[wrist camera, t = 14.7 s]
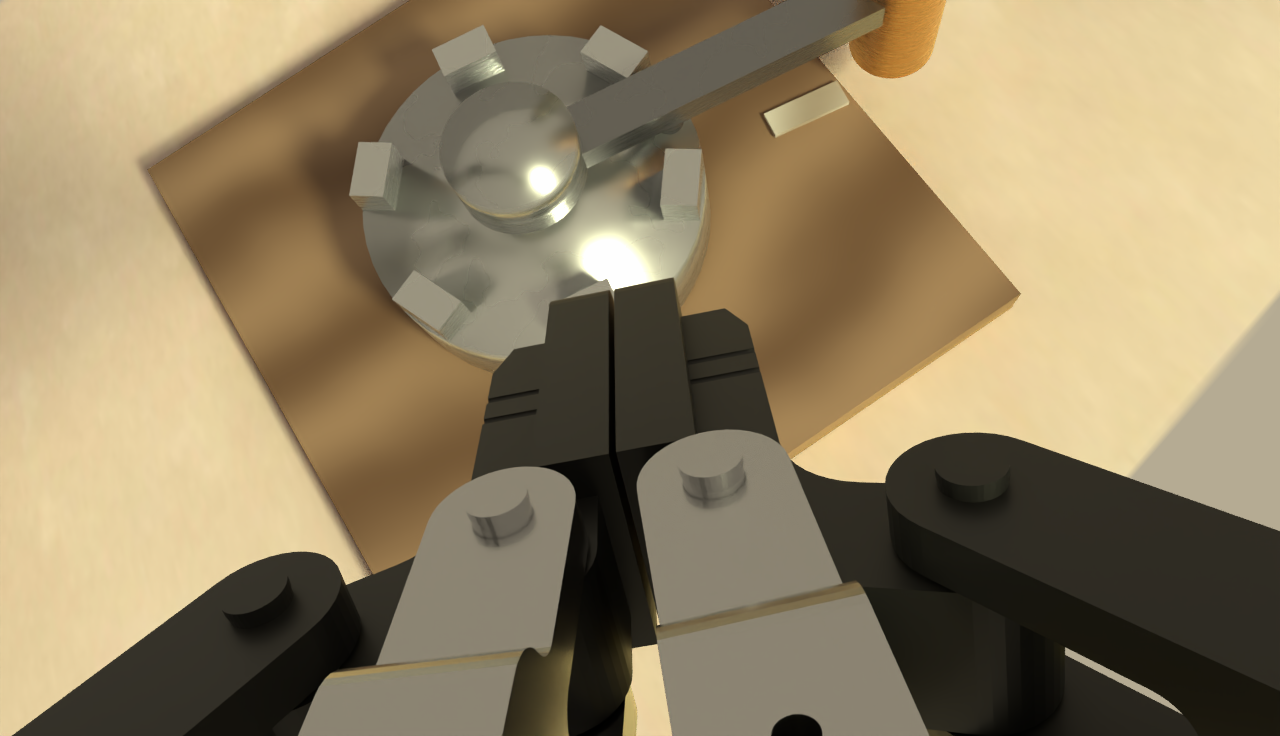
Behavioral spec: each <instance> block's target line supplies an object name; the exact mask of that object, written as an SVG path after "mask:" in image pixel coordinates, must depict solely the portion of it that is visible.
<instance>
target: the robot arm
mask: <svg viewBox="0 0 1280 736" xmlns="http://www.w3.org/2000/svg"><path fill="white" fill-rule="evenodd" d="M488 402H489V403H487V405H486V410H485V415H484V424H482V429H481V434H480V439H479V444H478V449H477V454H476V459H475V464H474V469H473V474H472V478H471V481H470V482H468V483H466V484H464V485H463V486H461V487H459V488H458V489H456V490H455V491H453V492H452V493H451V494H450V495H448V496H447V497H446V498H445V499H444V500H443V501H442V502H441V503H440V504H439V505H438V506H437V507H436V509H435V510H434V512H433V513H432V515H431V517H430V519H429V521H428V523H427V526H426V529H425V531H424V534H423V537H422V540H421V543H420V545H419V548H418V551H417V554H416V556H414V557H412V558H411V559H409V560H406V561H404V562H402V563H400V564H398V565H395V566H393V567H390V568H388V569H385V570H383V571H380V572H378V573H375V574H373V575H370V576H368V577H365V578H363V579H360V580H358V581H355V582H353V583H350V584H348V585H346V584H345V582H344V580H343V577H342V575H341V573H340V571H339V568H338V566H337V565H336V564H335V563H334V562H333V561H332V560H331V559H330V558H328V557H326V556H324V555H321V554H318V553H312V552H291V553H284V554H279V555H275V556H271V557H268V558H265V559H262V560H259V561H256V562H254V563H252V564H249V565H247V566H245V567H243V568H241V569H239V570H237V571H236V572H234V573H232V574H230V575H229V576H227V577H226V578H224V579H223V580H221V581H220V582H218V583H217V584H216V585H214V586H213V587H211V588H210V589H209V590H207V591H206V592H205V593H203V594H202V595H201V596H199V597H198V598H197V599H195V600H194V601H193V602H191V603H190V604H189V605H187V606H186V607H185V608H183V609H182V610H181V611H179V612H178V613H176V614H175V615H174V616H172V617H171V618H170V619H168V620H167V621H166V622H164V623H163V624H162V625H160V626H159V627H158V628H156V629H155V630H154V631H152V632H151V633H150V634H148V635H147V636H146V637H144V638H143V639H142V640H140V641H139V642H137V643H136V644H135V645H133V646H132V647H131V648H129V649H128V650H127V651H125V652H124V653H123V654H121V655H120V656H119V657H117V658H116V659H115V660H113V661H112V662H111V663H109V664H108V665H107V666H105V667H104V668H102V669H101V670H100V671H98V672H97V673H96V674H94V675H93V676H92V677H90V678H89V679H88V680H86V681H85V682H84V683H82V684H81V685H80V686H78V687H77V688H76V689H74V690H73V691H72V692H70V693H69V694H67V695H66V696H65V697H63V698H62V699H61V700H59V701H58V702H57V703H55V704H54V705H53V706H51V707H50V708H49V709H47V710H46V711H45V712H43V713H42V714H41V715H39V716H38V717H37V718H35V719H34V720H32V721H31V722H30V723H28V724H27V725H26V726H24V727H23V728H22V729H20V730H19V731H18V732H16V733H15V734H14V735H12V736H636V727H637V707H636V703H635V700H634V696H633V693H632V689H631V686H630V685H631V682H632V648H636V647H642V646H648V645H654V644H658V650H659V656H660V662H661V669H662V675H663V681H664V687H665V693H666V699H667V705H668V711H669V717H670V723H671V729H672V736H1280V531H1278V530H1275V529H1272V528H1269V527H1266V526H1263V525H1261V524H1258V523H1255V522H1252V521H1249V520H1246V519H1244V518H1241V517H1238V516H1235V515H1232V514H1229V513H1226V512H1224V511H1221V510H1218V509H1215V508H1212V507H1209V506H1206V505H1204V504H1201V503H1198V502H1195V501H1193V500H1190V499H1187V498H1184V497H1181V496H1178V495H1175V494H1173V493H1170V492H1167V491H1164V490H1161V489H1158V488H1156V487H1153V486H1150V485H1147V484H1144V483H1141V482H1139V481H1136V480H1133V479H1130V478H1127V477H1124V476H1122V475H1119V474H1116V473H1113V472H1110V471H1107V470H1105V469H1102V468H1099V467H1096V466H1093V465H1090V464H1088V463H1085V462H1082V461H1079V460H1076V459H1073V458H1071V457H1068V456H1065V455H1062V454H1059V453H1056V452H1054V451H1051V450H1048V449H1045V448H1042V447H1039V446H1037V445H1034V444H1031V443H1028V442H1025V441H1022V440H1019V439H1016V438H1012V437H1009V436H1003V435H998V434H990V433H960V434H951V435H946V436H941V437H937V438H934V439H931V440H927V441H924V442H922V443H920V444H918V445H916V446H914V447H912V448H910V449H909V450H907V451H906V452H904V453H903V454H902V455H901V456H899V457H898V458H897V459H896V460H895V461H894V463H893V464H892V465H891V467H890V468H889V471H888V473H887V475H886V481H885V483H863V482H847V481H840V480H834V479H829V478H825V477H822V476H818V475H815V474H813V473H811V472H808V471H806V470H804V469H803V468H801V467H799V466H798V465H796V464H795V463H794V462H793V461H791V460H790V458H789V456H788V454H787V452H786V451H785V449H784V448H783V447H782V446H781V445H780V442H779V438H778V434H777V431H776V427H775V423H774V420H773V416H772V412H771V408H770V405H769V401H768V397H767V394H766V390H765V386H764V382H763V379H762V375H761V372H760V368H759V364H758V360H757V356H756V353H755V350H754V345H753V342H752V338H751V334H750V330H749V327H748V324H746V323H745V322H744V321H742V320H741V319H739V318H738V317H737V316H735V315H734V314H732V313H731V312H730V311H728V310H727V309H725V308H723V309H718V310H713V311H707V312H702V313H697V314H692V315H687V316H682V313H681V308H680V303H679V298H678V293H677V289H676V284H675V280H674V277H672V278H667V279H662V280H657V281H652V282H646V283H641V284H636V285H631V286H626V287H621V288H616V289H614V299H613V296H612V293H611V291H610V290H607V291H602V292H596V293H591V294H586V295H581V296H576V297H571V298H566V299H561V300H556V301H551V302H550V304H549V311H548V319H547V328H546V336H545V343H543V344H538V345H533V346H527V347H522V348H517V349H514V350H513V351H512V352H511V353H510V355H509V356H508V357H507V358H506V359H505V360H504V361H503V363H502V364H501V365H500V366H499V367H498V368H497V370H496V371H495V372H494V373H493V375H492V380H491V385H490V390H489V395H488ZM656 610H657V614H658V618H659V623H660V625H657V616H656ZM1065 647H1066V648H1068V649H1070V650H1072V651H1074V652H1076V653H1078V654H1080V655H1082V656H1084V657H1086V658H1088V659H1090V660H1092V661H1094V662H1096V663H1098V664H1100V665H1102V666H1104V667H1106V668H1108V669H1110V670H1112V671H1114V672H1116V673H1118V674H1120V675H1122V676H1124V677H1126V678H1128V679H1130V680H1132V681H1134V682H1136V683H1138V684H1140V685H1142V686H1144V687H1146V688H1148V689H1150V690H1152V691H1153V692H1155V693H1157V694H1159V695H1160V696H1162V697H1163V698H1165V699H1166V700H1168V701H1169V702H1170V703H1171V704H1172V705H1174V706H1175V707H1176V708H1177V709H1178V710H1179V711H1180V712H1181V713H1182V714H1183V715H1182V714H1180V713H1178V712H1176V711H1174V710H1172V709H1171V708H1169V707H1166V706H1164V705H1162V704H1161V703H1159V702H1157V701H1155V700H1153V699H1151V698H1149V697H1147V696H1145V695H1143V694H1141V693H1139V692H1137V691H1135V690H1133V689H1131V688H1129V687H1127V686H1125V685H1123V684H1121V683H1119V682H1117V681H1115V680H1113V679H1111V678H1109V677H1107V676H1105V675H1103V674H1101V673H1099V672H1097V671H1095V670H1093V669H1092V668H1090V667H1088V666H1086V665H1084V664H1082V663H1080V662H1078V661H1076V660H1074V659H1072V658H1070V657H1068V656H1066V655H1065Z"/></svg>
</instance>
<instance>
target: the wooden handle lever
mask: <svg viewBox="0 0 1280 736" xmlns="http://www.w3.org/2000/svg"><path fill="white" fill-rule="evenodd" d="M945 3H946V0H787V1H784V2H782V3H780V4H778V5H776V6H774V7H772V8H770V9H768V10H766V11H764V12H762V13H760V14H758V15H756V16H753V17H751V18H749V19H747V20H745V21H743V22H741V23H739V24H737V25H735V26H733V27H731V28H729V29H727V30H724V31H722V32H720V33H718V34H716V35H714V36H712V37H710V38H708V39H706V40H704V41H702V42H700V43H698V44H695V45H693V46H691V47H689V48H687V49H685V50H683V51H681V52H679V53H677V54H675V55H673V56H671V57H669V58H666V59H664V60H662V61H660V62H658V63H656V64H654V65H652V66H651V63H650V58H649V53H648V51H647V50H645V49H643V48H641V47H640V46H638V45H636V44H634V43H632V42H630V41H629V40H627V39H625V38H623V37H621V36H620V35H618V34H616V33H614V32H612V31H610V30H609V29H607V28H605V27H603V26H601V25H600V27H599V28H598V29H597V31H596V32H595V33H594V34H593V36H592V37H591V38H590V40H587V39H582V38H577V37H572V36H557V35H542V36H527V37H521V38H515V39H509V40H505V41H502V42H498V43H495V44H493V43H492V41H491V39H490V37H489V35H488V33H487V31H486V29H485V27H484V25H482V26H480V27H477V28H475V29H473V30H471V31H469V32H467V33H465V34H463V35H461V36H459V37H457V38H455V39H453V40H450V41H448V42H446V43H444V44H442V45H440V46H438V47H436V48H434V49H432V51H433V53H434V56H435V58H436V60H437V62H438V64H439V66H440V69H441V70H439V71H438V72H436V73H435V74H434V75H432V76H431V77H429V78H428V79H427V80H426V81H425V82H424V83H423V84H422V85H420V86H419V87H418V88H417V89H416V90H415V91H414V92H413V93H412V94H411V95H410V96H409V97H408V98H407V100H406V101H405V102H404V103H403V104H402V105H401V106H400V107H399V109H398V110H397V112H396V113H395V115H394V116H393V117H392V119H391V120H390V122H389V123H388V125H387V126H386V128H385V130H384V132H383V134H382V136H381V137H380V139H379V141H378V142H358V148H357V154H356V159H355V165H354V171H353V176H352V182H351V188H350V193H349V196H350V197H351V198H352V199H353V200H354V201H355V202H356V204H357V205H358V206H359V207H360V208H361V209H362V210H363V227H364V233H365V239H366V244H367V248H368V251H369V254H370V257H371V260H372V263H373V266H374V268H375V270H376V272H377V274H378V276H379V278H380V280H381V282H382V284H383V285H384V286H385V288H386V289H387V291H388V292H389V294H390V295H391V296H392V300H393V301H394V302H395V303H396V304H398V305H399V306H400V307H401V308H402V309H403V310H404V311H405V312H406V313H407V314H408V315H409V316H410V317H411V318H412V319H413V320H414V321H415V322H416V323H417V324H418V325H419V326H420V327H422V328H423V329H424V330H425V331H426V332H427V333H428V334H429V335H430V336H431V337H432V338H433V339H434V340H436V341H437V342H438V343H439V344H440V345H442V346H443V347H444V348H445V349H447V350H448V351H449V352H451V353H452V354H453V355H455V356H457V357H458V358H460V359H462V360H464V361H465V362H467V363H469V364H471V365H473V366H476V367H478V368H480V369H483V370H485V371H488V372H491V373H494V372H495V371H496V370H497V368H498V367H499V366H500V365H501V364H502V363H503V361H504V360H505V359H506V358H507V357H508V356H509V355H510V353H511V352H512V351H513V350H514V349H517V348H522V347H527V346H533V345H538V344H543V343H545V336H546V328H547V319H548V311H549V304H550V302H551V301H556V300H561V299H566V298H571V297H576V296H581V295H586V294H591V293H596V292H602V291H607V290H610V291H611V293H612V296H613V299H614V289H616V288H621V287H626V286H631V285H636V284H641V283H646V282H652V281H657V280H662V279H667V278H672V277H674V280H675V284H676V289H677V293H678V298H679V303H680V308H681V307H682V305H683V304H684V302H685V300H686V299H687V297H688V295H689V294H690V292H691V291H692V289H693V287H694V285H695V283H696V280H697V278H698V276H699V274H700V271H701V269H702V266H703V262H704V259H705V255H706V252H707V248H708V241H709V234H710V203H709V195H708V188H707V181H706V174H705V167H704V160H703V153H702V149H701V145H700V142H699V138H698V135H697V131H696V129H695V127H694V125H693V123H692V120H691V118H693V117H695V116H697V115H699V114H701V113H703V112H705V111H707V110H709V109H711V108H713V107H715V106H718V105H720V104H722V103H724V102H726V101H728V100H730V99H732V98H734V97H736V96H738V95H740V94H742V93H744V92H746V91H749V90H751V89H753V88H755V87H757V86H759V85H761V84H763V83H765V82H767V81H769V80H771V79H773V78H775V77H778V76H780V75H782V74H784V73H786V72H788V71H790V70H792V69H794V68H796V67H798V66H800V65H802V64H804V63H806V62H809V61H811V60H813V59H815V58H817V57H819V56H821V55H823V54H825V53H827V52H829V51H831V50H833V49H835V48H837V47H840V46H842V45H844V44H846V43H848V42H849V47H850V51H851V54H852V56H853V58H854V60H855V61H856V63H857V64H858V65H859V66H860V67H861V68H862V69H864V70H865V71H867V72H868V73H870V74H872V75H875V76H878V77H882V78H900V77H904V76H907V75H910V74H912V73H914V72H916V71H917V70H919V69H920V68H921V67H923V66H924V65H925V64H926V62H927V61H928V60H929V58H930V56H931V54H932V52H933V48H934V44H935V41H936V37H937V33H938V29H939V26H940V22H941V18H942V14H943V10H944V7H945Z"/></svg>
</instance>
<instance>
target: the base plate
mask: <svg viewBox="0 0 1280 736" xmlns="http://www.w3.org/2000/svg"><path fill="white" fill-rule="evenodd" d="M772 7H774V6H773V5H772V3H771V2H770V1H769V0H409V1H408V2H406V3H405V4H403V5H402V6H400V7H399V8H397V9H395V10H394V11H392V12H391V13H389V14H388V15H386V16H385V17H383V18H382V19H380V20H378V21H377V22H375V23H374V24H372V25H371V26H369V27H368V28H366V29H365V30H363V31H361V32H360V33H358V34H357V35H355V36H354V37H352V38H351V39H349V40H348V41H346V42H344V43H343V44H341V45H340V46H338V47H337V48H335V49H334V50H332V51H330V52H329V53H327V54H326V55H324V56H323V57H321V58H320V59H318V60H317V61H315V62H313V63H312V64H310V65H309V66H307V67H306V68H304V69H303V70H301V71H300V72H298V73H296V74H295V75H293V76H292V77H290V78H289V79H287V80H286V81H284V82H282V83H281V84H279V85H278V86H276V87H275V88H273V89H272V90H270V91H269V92H267V93H265V94H264V95H262V96H261V97H259V98H258V99H256V100H255V101H253V102H252V103H250V104H248V105H247V106H245V107H244V108H242V109H241V110H239V111H238V112H236V113H235V114H233V115H231V116H230V117H228V118H227V119H225V120H224V121H222V122H221V123H219V124H217V125H216V126H214V127H213V128H211V129H210V130H208V131H207V132H205V133H204V134H202V135H200V136H199V137H197V138H196V139H194V140H193V141H191V142H190V143H188V144H187V145H185V146H183V147H182V148H180V149H179V150H177V151H176V152H174V153H173V154H171V155H170V156H168V157H166V158H165V159H163V160H162V161H160V162H159V163H157V164H156V165H154V166H152V167H151V168H149V169H148V172H149V174H150V175H151V177H152V179H153V181H154V182H155V184H156V186H157V188H158V190H159V191H160V193H161V195H162V197H163V199H164V200H165V202H166V204H167V206H168V208H169V209H170V211H171V213H172V215H173V217H174V218H175V220H176V222H177V224H178V226H179V227H180V229H181V231H182V233H183V234H184V236H185V238H186V240H187V242H188V243H189V245H190V247H191V249H192V251H193V252H194V254H195V256H196V258H197V260H198V261H199V263H200V265H201V267H202V269H203V270H204V272H205V274H206V276H207V277H208V279H209V281H210V283H211V285H212V286H213V288H214V290H215V292H216V294H217V295H218V297H219V299H220V301H221V303H222V304H223V306H224V308H225V310H226V312H227V313H228V315H229V317H230V319H231V321H232V322H233V324H234V326H235V328H236V329H237V331H238V333H239V335H240V337H241V338H242V340H243V342H244V344H245V346H246V347H247V349H248V351H249V353H250V355H251V356H252V358H253V360H254V362H255V364H256V365H257V367H258V369H259V371H260V372H261V374H262V376H263V378H264V380H265V381H266V383H267V385H268V387H269V389H270V390H271V392H272V394H273V396H274V398H275V399H276V401H277V403H278V405H279V407H280V408H281V410H282V412H283V414H284V416H285V417H286V419H287V421H288V423H289V424H290V426H291V428H292V430H293V432H294V433H295V435H296V437H297V439H298V441H299V442H300V444H301V446H302V448H303V450H304V451H305V453H306V455H307V457H308V459H309V460H310V462H311V464H312V466H313V468H314V469H315V471H316V473H317V475H318V476H319V478H320V480H321V482H322V484H323V485H324V487H325V489H326V491H327V493H328V494H329V496H330V498H331V500H332V502H333V503H334V505H335V507H336V509H337V511H338V512H339V514H340V516H341V518H342V519H343V521H344V523H345V525H346V527H347V528H348V530H349V532H350V534H351V536H352V537H353V539H354V541H355V543H356V545H357V546H358V548H359V550H360V552H361V554H362V555H363V557H364V559H365V561H366V563H367V564H368V566H369V568H370V570H371V571H372V573H373V574H375V573H378V572H380V571H383V570H385V569H388V568H390V567H393V566H395V565H398V564H400V563H402V562H404V561H406V560H409V559H411V558H412V557H414V556H416V554H417V551H418V548H419V545H420V543H421V540H422V537H423V534H424V531H425V529H426V526H427V523H428V521H429V519H430V517H431V515H432V513H433V512H434V510H435V509H436V507H437V506H438V505H439V504H440V503H441V502H442V501H443V500H444V499H445V498H446V497H447V496H448V495H450V494H451V493H452V492H453V491H455V490H456V489H458V488H459V487H461V486H463V485H464V484H466V483H468V482H470V481H471V478H472V474H473V469H474V464H475V459H476V454H477V449H478V444H479V439H480V434H481V429H482V424H484V415H485V410H486V405H487V403H489V402H488V395H489V390H490V385H491V380H492V375H493V373H491V372H488V371H485V370H483V369H480V368H478V367H476V366H473V365H471V364H469V363H467V362H465V361H464V360H462V359H460V358H458V357H457V356H455V355H453V354H452V353H451V352H449V351H448V350H447V349H445V348H444V347H443V346H442V345H440V344H439V343H438V342H437V341H436V340H434V339H433V338H432V337H431V336H430V335H429V334H428V333H427V332H426V331H425V330H424V329H423V328H422V327H420V326H419V325H418V324H417V323H416V322H415V321H414V320H413V319H412V318H411V317H410V316H409V315H408V314H407V313H406V312H405V311H404V310H403V309H402V308H401V307H400V306H399V305H398V304H396V303H395V302H394V301H393V300H392V296H391V295H390V294H389V292H388V291H387V289H386V288H385V286H384V285H383V284H382V282H381V280H380V278H379V276H378V274H377V272H376V270H375V268H374V266H373V263H372V260H371V257H370V254H369V251H368V248H367V244H366V239H365V233H364V227H363V210H362V209H361V208H360V207H359V206H358V205H357V204H356V202H355V201H354V200H353V199H352V198H351V197H350V196H349V193H350V188H351V182H352V176H353V171H354V165H355V159H356V154H357V148H358V142H378V141H379V139H380V137H381V136H382V134H383V132H384V130H385V128H386V126H387V125H388V123H389V122H390V120H391V119H392V117H393V116H394V115H395V113H396V112H397V110H398V109H399V107H400V106H401V105H402V104H403V103H404V102H405V101H406V100H407V98H408V97H409V96H410V95H411V94H412V93H413V92H414V91H415V90H416V89H417V88H418V87H419V86H420V85H422V84H423V83H424V82H425V81H426V80H427V79H428V78H429V77H431V76H432V75H434V74H435V73H436V72H438V71H439V70H441V69H440V66H439V64H438V62H437V60H436V58H435V56H434V53H433V51H432V49H434V48H436V47H438V46H440V45H442V44H444V43H446V42H448V41H450V40H453V39H455V38H457V37H459V36H461V35H463V34H465V33H467V32H469V31H471V30H473V29H475V28H477V27H480V26H482V25H484V27H485V29H486V31H487V33H488V35H489V37H490V39H491V41H492V43H493V44H495V43H498V42H502V41H505V40H509V39H515V38H521V37H527V36H542V35H557V36H572V37H577V38H582V39H587V40H590V38H591V37H592V36H593V34H594V33H595V32H596V31H597V29H598V28H599V27H600V25H601V26H603V27H605V28H607V29H609V30H610V31H612V32H614V33H616V34H618V35H620V36H621V37H623V38H625V39H627V40H629V41H630V42H632V43H634V44H636V45H638V46H640V47H641V48H643V49H645V50H647V51H648V53H649V58H650V63H651V66H652V65H654V64H656V63H658V62H660V61H662V60H664V59H666V58H669V57H671V56H673V55H675V54H677V53H679V52H681V51H683V50H685V49H687V48H689V47H691V46H693V45H695V44H698V43H700V42H702V41H704V40H706V39H708V38H710V37H712V36H714V35H716V34H718V33H720V32H722V31H724V30H727V29H729V28H731V27H733V26H735V25H737V24H739V23H741V22H743V21H745V20H747V19H749V18H751V17H753V16H756V15H758V14H760V13H762V12H764V11H766V10H768V9H770V8H772ZM691 120H692V123H693V125H694V127H695V129H696V131H697V135H698V138H699V142H700V145H701V149H702V153H703V160H704V167H705V174H706V181H707V188H708V195H709V203H710V234H709V241H708V248H707V252H706V255H705V259H704V262H703V266H702V269H701V271H700V274H699V276H698V278H697V280H696V283H695V285H694V287H693V289H692V291H691V292H690V294H689V295H688V297H687V299H686V300H685V302H684V304H683V305H682V307H681V313H682V316H687V315H692V314H697V313H702V312H707V311H713V310H718V309H723V308H725V309H727V310H728V311H730V312H731V313H732V314H734V315H735V316H737V317H738V318H739V319H741V320H742V321H744V322H745V323H746V324H748V327H749V330H750V334H751V338H752V342H753V345H754V350H755V353H756V356H757V360H758V364H759V368H760V372H761V375H762V379H763V382H764V386H765V390H766V394H767V397H768V401H769V405H770V408H771V412H772V416H773V420H774V423H775V427H776V431H777V434H778V438H779V442H780V445H781V446H782V447H783V448H784V449H785V451H786V452H787V454H788V456H789V458H790V459H792V458H793V457H795V456H796V455H797V454H799V453H800V452H802V451H803V450H805V449H806V448H808V447H809V446H811V445H812V444H813V443H815V442H816V441H818V440H819V439H821V438H822V437H824V436H825V435H827V434H828V433H829V432H831V431H832V430H834V429H835V428H837V427H838V426H840V425H841V424H843V423H844V422H845V421H847V420H848V419H850V418H851V417H853V416H854V415H856V414H857V413H859V412H860V411H862V410H863V409H864V408H866V407H867V406H869V405H870V404H872V403H873V402H875V401H876V400H878V399H879V398H880V397H882V396H883V395H885V394H886V393H888V392H889V391H891V390H892V389H894V388H895V387H896V386H898V385H899V384H901V383H902V382H904V381H905V380H907V379H908V378H910V377H911V376H912V375H914V374H915V373H917V372H918V371H920V370H921V369H923V368H924V367H926V366H927V365H929V364H930V363H931V362H933V361H934V360H936V359H937V358H939V357H940V356H942V355H943V354H945V353H946V352H947V351H949V350H950V349H952V348H953V347H955V346H956V345H958V344H959V343H961V342H962V341H963V340H965V339H966V338H968V337H969V336H971V335H972V334H974V333H975V332H977V331H978V330H979V329H981V328H982V327H984V326H985V325H987V324H988V323H990V322H991V321H993V320H994V319H996V318H997V317H998V316H1000V315H1001V314H1003V313H1004V312H1006V311H1007V310H1009V309H1010V308H1011V307H1012V306H1013V304H1014V303H1015V301H1016V300H1017V299H1018V297H1019V296H1020V294H1021V293H1020V292H1019V291H1018V290H1017V289H1016V288H1015V286H1014V285H1013V284H1012V283H1011V282H1010V281H1009V279H1008V278H1007V277H1006V276H1005V275H1004V274H1003V272H1002V271H1001V270H1000V269H999V268H998V267H997V265H996V264H995V263H994V262H993V261H992V260H991V258H990V257H989V256H988V255H987V254H986V253H985V251H984V250H983V249H982V248H981V247H980V246H979V244H978V243H977V242H976V241H975V240H974V239H973V238H972V236H971V235H970V234H969V233H968V232H967V231H966V229H965V228H964V227H963V226H962V225H961V224H960V222H959V221H958V220H957V219H956V218H955V217H954V215H953V214H952V213H951V212H950V211H949V210H948V208H947V207H946V206H945V205H944V204H943V203H942V201H941V200H940V199H939V198H938V197H937V196H936V194H935V193H934V192H933V191H932V190H931V189H930V187H929V186H928V185H927V184H926V183H925V182H924V180H923V179H922V178H921V177H920V176H919V175H918V173H917V172H916V171H915V170H914V169H913V168H912V166H911V165H910V164H909V163H908V162H907V161H906V159H905V158H904V157H903V156H902V155H901V154H900V153H899V151H898V150H897V149H896V148H895V147H894V146H893V144H892V143H891V142H890V141H889V140H888V139H887V137H886V136H885V135H884V134H883V133H882V132H881V130H880V129H879V128H878V127H877V126H876V125H875V123H874V122H873V121H872V120H871V119H870V118H869V116H868V115H867V114H866V113H865V112H864V111H863V109H862V108H861V107H860V106H859V105H858V104H857V102H856V101H855V100H854V99H853V98H852V97H851V95H850V94H849V93H848V92H847V91H846V90H845V88H844V87H843V86H842V85H841V84H840V83H839V81H838V80H837V79H836V78H835V77H834V76H833V75H832V73H831V72H830V71H829V70H828V69H827V68H826V66H825V65H824V64H823V63H822V62H821V61H820V59H819V58H818V57H817V58H815V59H813V60H811V61H809V62H806V63H804V64H802V65H800V66H798V67H796V68H794V69H792V70H790V71H788V72H786V73H784V74H782V75H780V76H778V77H775V78H773V79H771V80H769V81H767V82H765V83H763V84H761V85H759V86H757V87H755V88H753V89H751V90H749V91H746V92H744V93H742V94H740V95H738V96H736V97H734V98H732V99H730V100H728V101H726V102H724V103H722V104H720V105H718V106H715V107H713V108H711V109H709V110H707V111H705V112H703V113H701V114H699V115H697V116H695V117H693V118H691Z"/></svg>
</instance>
